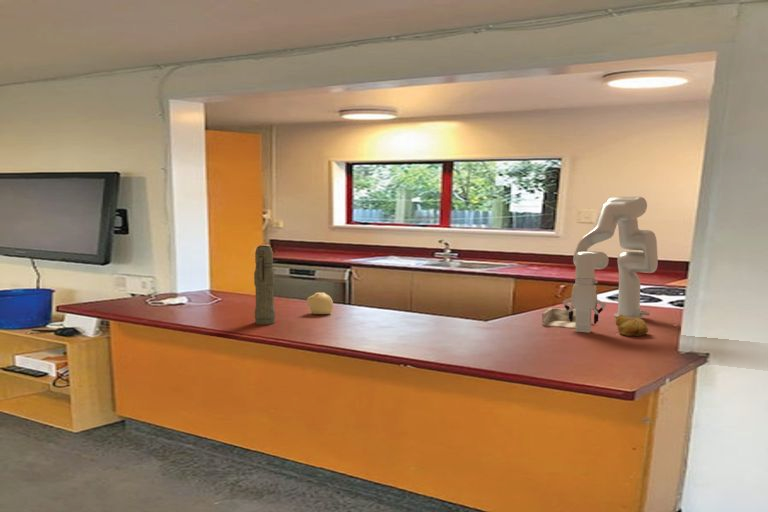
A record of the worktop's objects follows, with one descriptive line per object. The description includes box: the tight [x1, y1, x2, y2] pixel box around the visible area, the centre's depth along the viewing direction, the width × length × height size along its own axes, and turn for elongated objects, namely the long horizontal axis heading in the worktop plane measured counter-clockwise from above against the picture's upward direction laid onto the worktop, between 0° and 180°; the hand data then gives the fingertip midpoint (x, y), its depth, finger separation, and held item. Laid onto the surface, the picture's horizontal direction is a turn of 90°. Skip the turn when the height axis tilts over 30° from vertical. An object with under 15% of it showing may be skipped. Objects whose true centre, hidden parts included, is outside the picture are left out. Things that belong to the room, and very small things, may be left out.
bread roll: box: [615, 315, 649, 337], centre depth 229 cm, size 13×10×8 cm
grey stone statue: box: [253, 245, 276, 326], centre depth 250 cm, size 9×12×35 cm
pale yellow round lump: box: [306, 291, 334, 315], centre depth 274 cm, size 11×12×11 cm
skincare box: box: [574, 306, 592, 334], centre depth 235 cm, size 6×4×12 cm
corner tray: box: [541, 307, 576, 330], centre depth 250 cm, size 18×16×6 cm
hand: (583, 322), depth 235 cm, fingers open, 9 cm apart
